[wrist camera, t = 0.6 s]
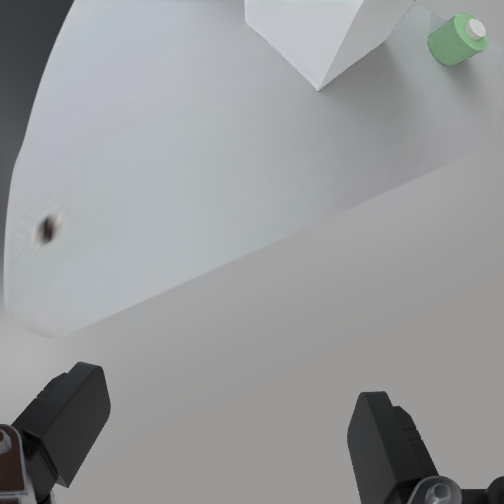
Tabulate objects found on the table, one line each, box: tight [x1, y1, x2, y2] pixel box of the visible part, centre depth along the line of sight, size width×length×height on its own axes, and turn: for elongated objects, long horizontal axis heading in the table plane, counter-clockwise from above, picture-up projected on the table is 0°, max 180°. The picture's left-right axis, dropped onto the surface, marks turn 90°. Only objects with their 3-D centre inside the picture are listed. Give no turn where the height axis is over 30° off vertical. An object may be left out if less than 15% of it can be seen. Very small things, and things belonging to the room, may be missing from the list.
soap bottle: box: [428, 13, 488, 66], centre depth 25 cm, size 5×5×8 cm
